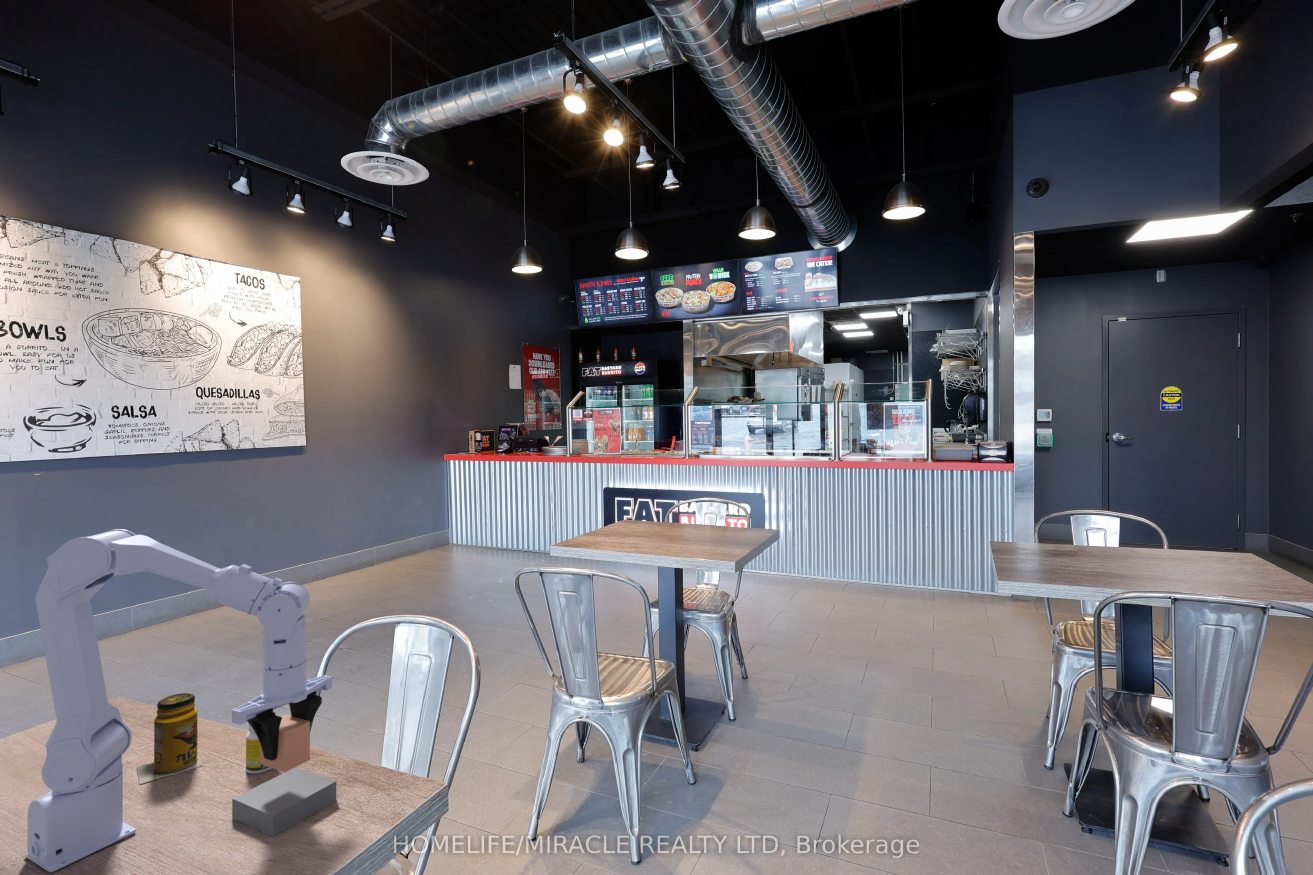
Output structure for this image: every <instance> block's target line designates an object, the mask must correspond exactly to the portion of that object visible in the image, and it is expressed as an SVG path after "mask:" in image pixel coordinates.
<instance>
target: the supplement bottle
mask: <svg viewBox="0 0 1313 875" xmlns="http://www.w3.org/2000/svg"><path fill="white" fill-rule="evenodd" d="M272 769H273V768H271V767H268V766H265V765H263V764H260V742H259V739H258V737H257V735H256V733H255V731H254V730H253V728H252V727H251V725H250V724H249V723H248V732H247V733H246V736H245V771H246V772H247V773H248V774H253V775H254V774H262V773H265V772H268V771H270V770H272Z"/></svg>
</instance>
